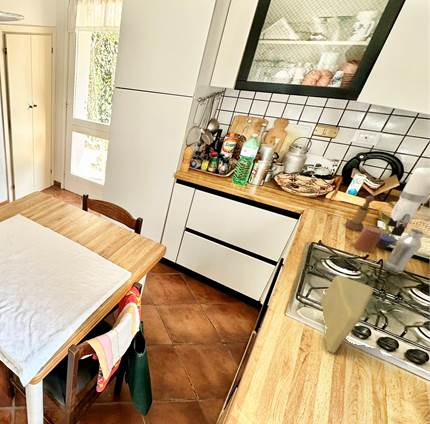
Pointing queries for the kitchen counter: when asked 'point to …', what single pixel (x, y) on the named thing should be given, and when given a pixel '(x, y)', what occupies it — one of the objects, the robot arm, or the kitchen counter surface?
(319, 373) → the kitchen counter surface
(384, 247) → the lid stand
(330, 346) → the cheese
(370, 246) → the jam jar
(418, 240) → the plastic bottle
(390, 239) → the jar lid
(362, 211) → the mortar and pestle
